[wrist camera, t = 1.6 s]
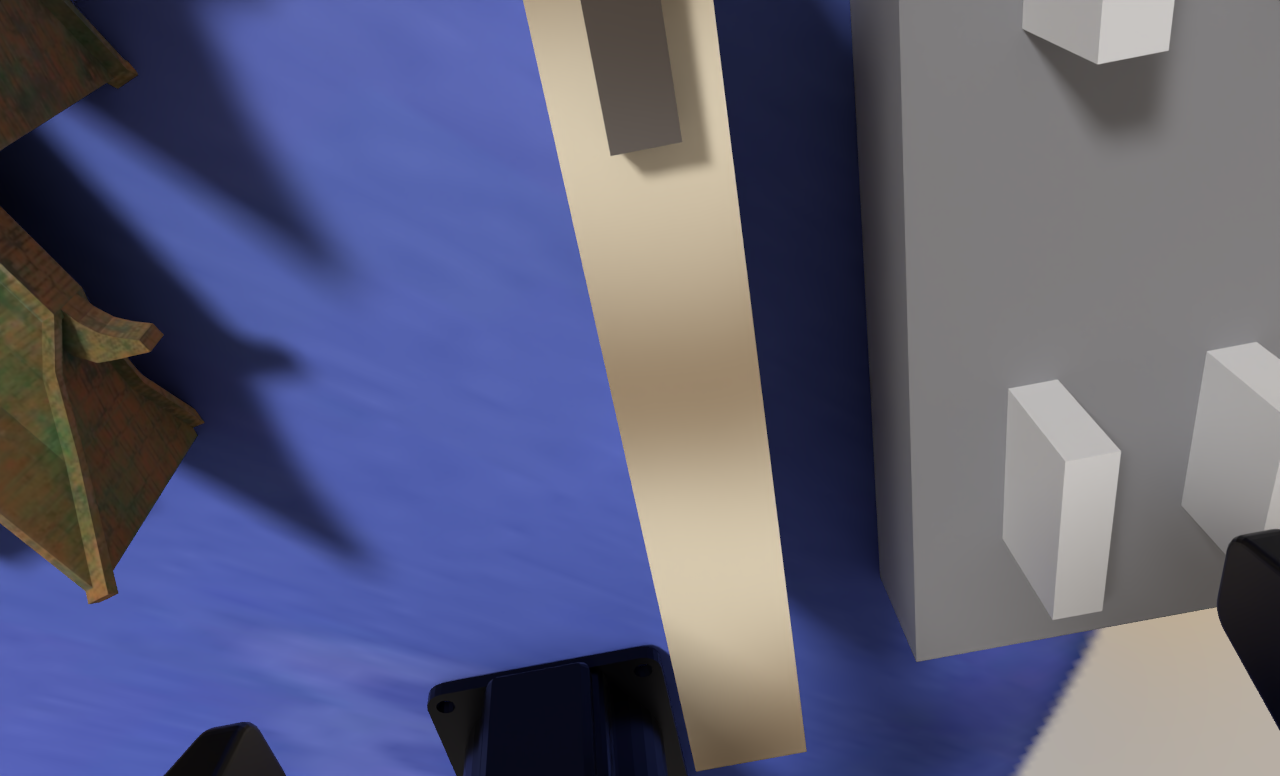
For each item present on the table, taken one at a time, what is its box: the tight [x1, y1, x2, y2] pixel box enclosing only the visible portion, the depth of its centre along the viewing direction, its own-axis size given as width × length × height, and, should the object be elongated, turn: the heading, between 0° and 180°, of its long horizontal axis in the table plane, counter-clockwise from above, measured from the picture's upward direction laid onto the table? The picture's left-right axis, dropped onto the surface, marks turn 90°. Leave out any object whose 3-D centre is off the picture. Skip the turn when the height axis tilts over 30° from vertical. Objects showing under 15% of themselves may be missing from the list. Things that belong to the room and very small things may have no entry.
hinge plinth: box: [850, 0, 1280, 662], centre depth 17 cm, size 22×9×6 cm, turn 10°
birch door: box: [523, 0, 807, 771], centre depth 16 cm, size 16×2×9 cm, turn 10°
